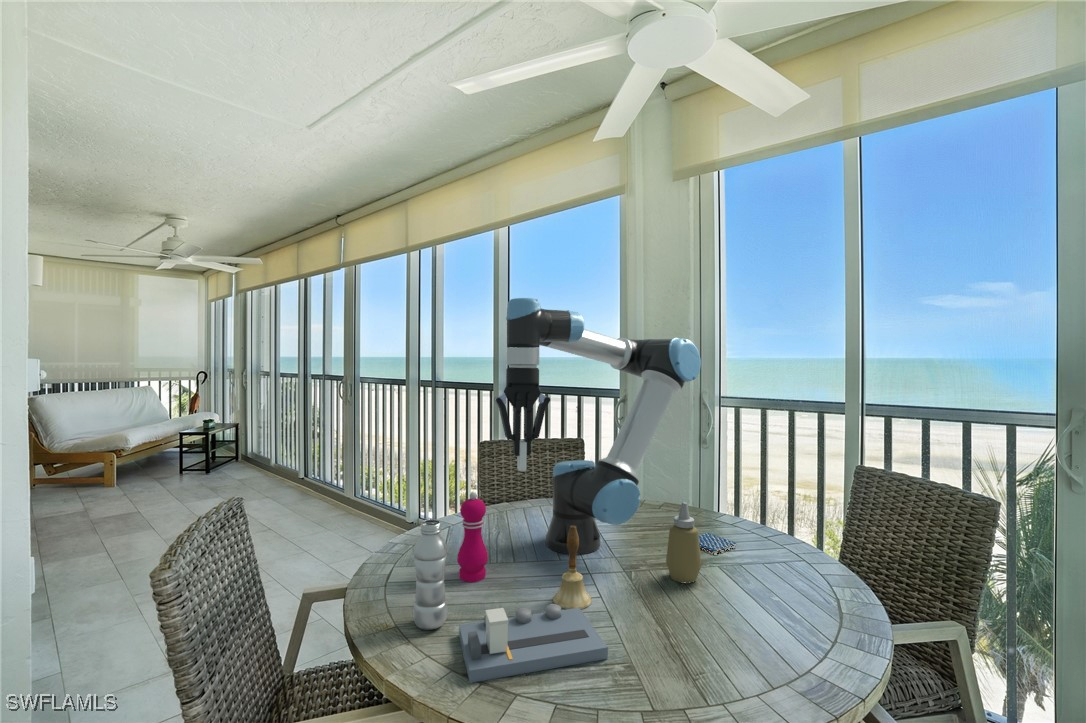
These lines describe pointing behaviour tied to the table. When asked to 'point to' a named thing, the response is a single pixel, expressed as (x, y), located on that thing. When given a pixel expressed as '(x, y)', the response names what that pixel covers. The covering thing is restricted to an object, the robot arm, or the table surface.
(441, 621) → the plastic bottle
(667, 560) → the squeeze bottle
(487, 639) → the fader tab
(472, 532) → the pepper mill
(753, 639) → the table surface
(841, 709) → the table surface
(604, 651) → the console board
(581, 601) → the hand bell
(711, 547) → the woven mat
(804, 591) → the table surface
